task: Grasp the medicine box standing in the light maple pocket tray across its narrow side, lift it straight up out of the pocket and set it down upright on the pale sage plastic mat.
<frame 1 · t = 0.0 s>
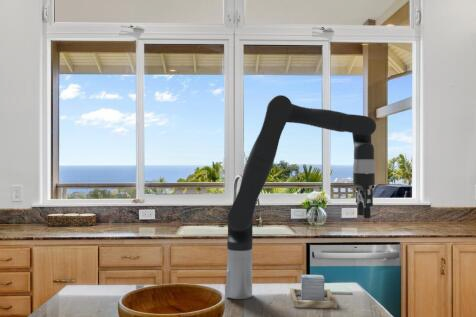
hand: (363, 216, 150), 29 cm above the countertop, fingers open, 8 cm apart
pocket tray: (312, 300, 147), on the countertop
medicine box: (312, 301, 147), resting in pocket tray
sage mat: (333, 289, 160), on the countertop
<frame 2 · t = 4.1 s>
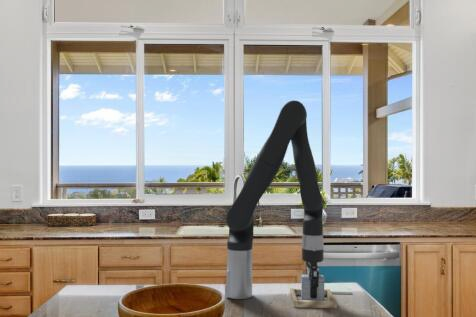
hand: (312, 295, 147), 2 cm above the countertop, fingers closed on medicine box, 4 cm apart
medicine box: (312, 301, 147), resting in pocket tray, touching gripper
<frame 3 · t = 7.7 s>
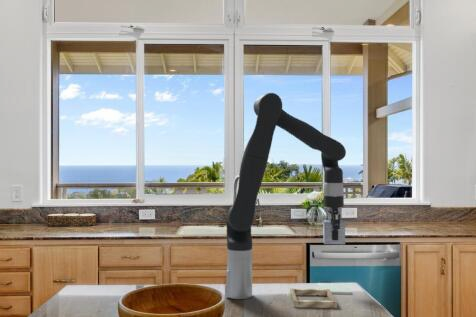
hand: (333, 238, 160), 20 cm above the countertop, fingers closed on medicine box, 4 cm apart
medicine box: (334, 244, 160), point 18 cm above the countertop, touching gripper
when the fingers open (4 cm above the countertop, at t = 11.5 s): medicine box drops 1 cm, resting on sage mat.
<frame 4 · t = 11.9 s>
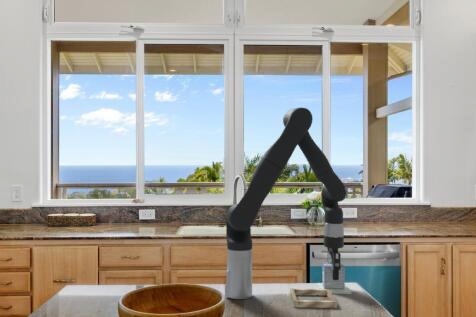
hand: (333, 276, 160), 5 cm above the countertop, fingers open, 8 cm apart
medicine box: (333, 287, 160), point 1 cm above the countertop, touching sage mat
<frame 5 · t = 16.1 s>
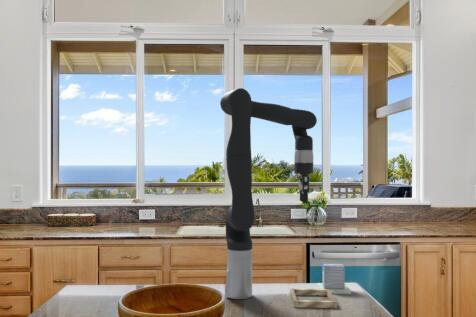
hand: (303, 202, 166), 33 cm above the countertop, fingers open, 8 cm apart
nothing on the countertop moved.
at the end: medicine box inside the target area (0.1 cm from its centre), point 0.6 cm above the countertop; medicine box tilted 0°; the gripper is holding nothing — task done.
